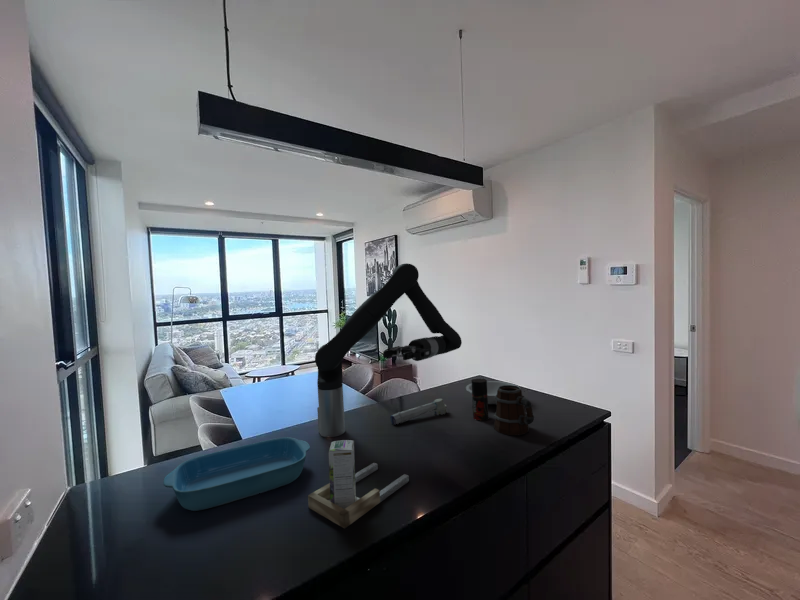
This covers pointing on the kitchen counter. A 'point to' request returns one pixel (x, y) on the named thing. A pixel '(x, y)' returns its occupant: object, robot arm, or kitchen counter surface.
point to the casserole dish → (237, 472)
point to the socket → (337, 514)
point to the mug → (512, 411)
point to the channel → (387, 490)
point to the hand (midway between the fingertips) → (393, 355)
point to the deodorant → (480, 399)
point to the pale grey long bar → (419, 411)
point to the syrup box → (342, 473)
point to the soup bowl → (491, 389)
